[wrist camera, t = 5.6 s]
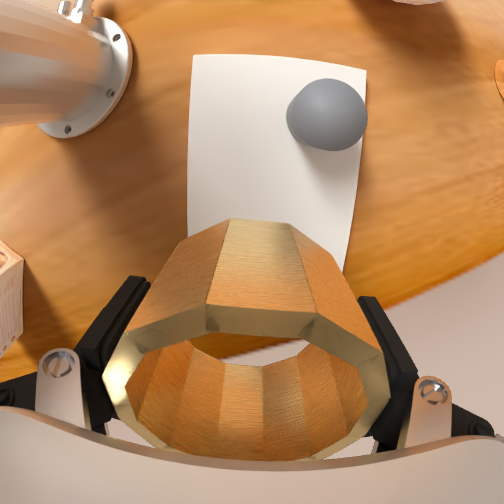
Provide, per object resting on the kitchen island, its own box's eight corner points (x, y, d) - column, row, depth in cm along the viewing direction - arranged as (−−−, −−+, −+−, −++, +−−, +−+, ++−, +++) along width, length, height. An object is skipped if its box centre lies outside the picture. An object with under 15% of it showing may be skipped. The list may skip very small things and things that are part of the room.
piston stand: (195, 58, 19) (176, 36, 14) (362, 72, 19) (391, 57, 14) (191, 276, 27) (176, 311, 22) (336, 284, 27) (352, 321, 22)
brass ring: (153, 212, 9) (74, 284, 5) (362, 231, 9) (436, 314, 5) (166, 364, 12) (137, 454, 8) (319, 377, 12) (337, 468, 8)
